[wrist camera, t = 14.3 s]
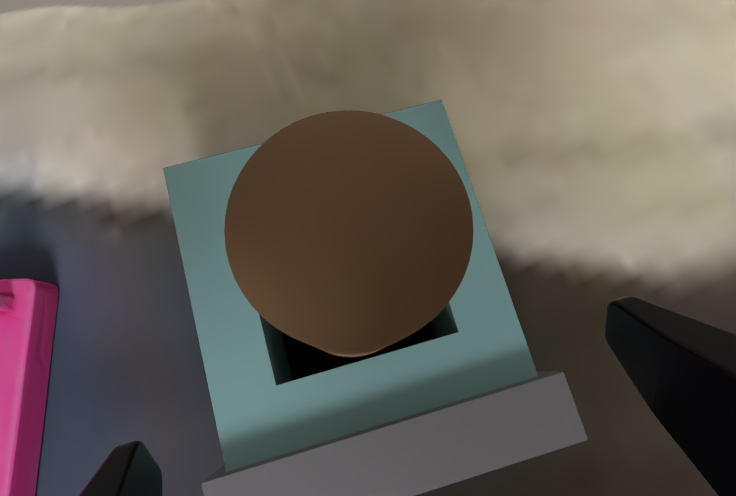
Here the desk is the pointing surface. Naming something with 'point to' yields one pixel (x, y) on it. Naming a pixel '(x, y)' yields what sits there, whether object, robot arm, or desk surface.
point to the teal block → (349, 382)
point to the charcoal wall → (421, 447)
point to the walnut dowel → (348, 231)
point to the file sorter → (24, 378)
